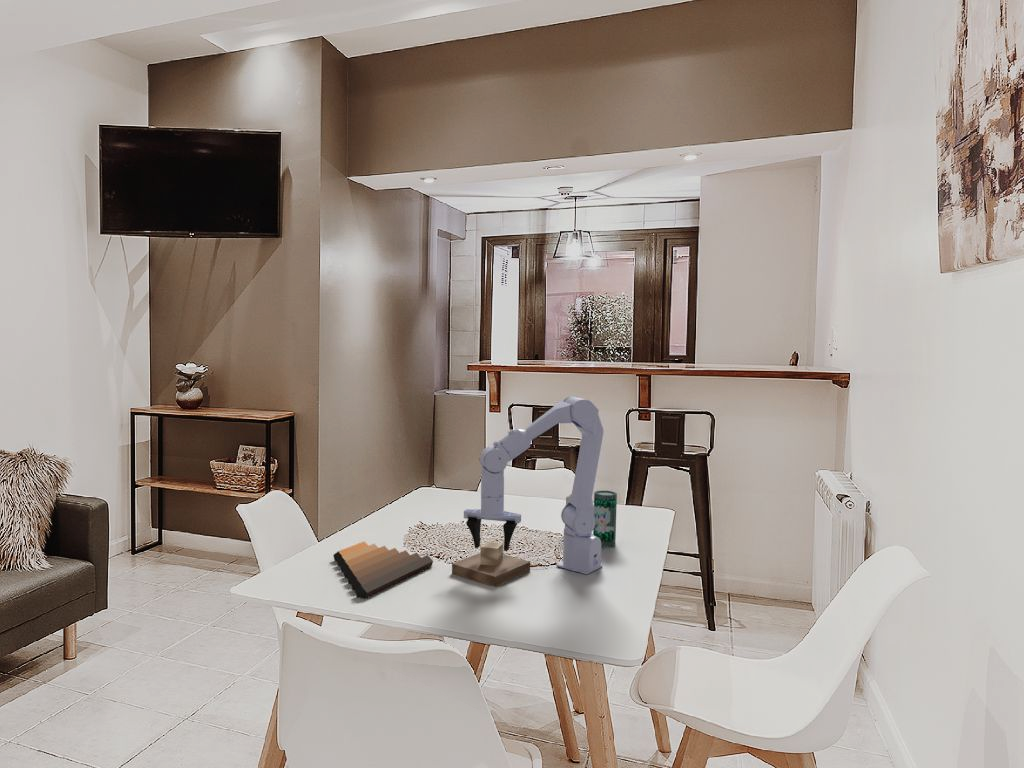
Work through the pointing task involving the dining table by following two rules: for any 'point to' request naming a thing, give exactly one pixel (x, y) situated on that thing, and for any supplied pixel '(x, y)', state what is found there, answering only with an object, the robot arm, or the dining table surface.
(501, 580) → the walnut base
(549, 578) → the dining table surface
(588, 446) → the robot arm
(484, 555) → the maple block
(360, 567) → the pan flute
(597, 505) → the can
